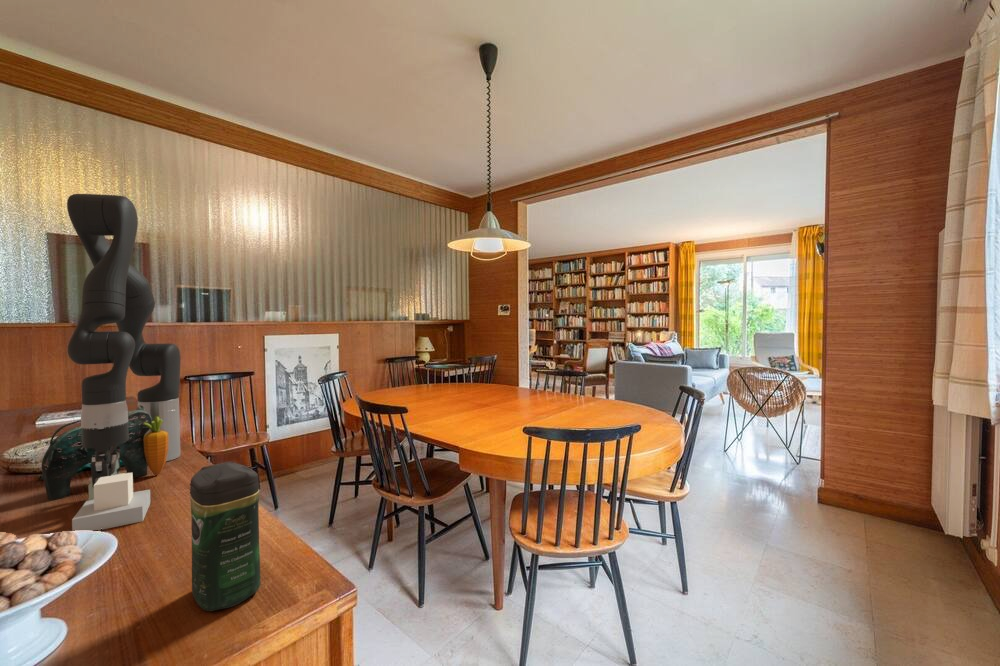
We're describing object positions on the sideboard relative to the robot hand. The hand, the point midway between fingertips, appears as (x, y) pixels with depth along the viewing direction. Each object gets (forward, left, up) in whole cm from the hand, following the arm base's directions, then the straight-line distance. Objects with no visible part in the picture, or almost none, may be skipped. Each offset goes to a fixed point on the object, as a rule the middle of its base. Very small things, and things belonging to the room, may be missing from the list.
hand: (107, 498), depth 92 cm
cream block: (+11, +3, +2) cm, 12 cm away
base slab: (+11, +3, -1) cm, 11 cm away
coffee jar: (+51, +22, -1) cm, 56 cm away
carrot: (-14, +7, -1) cm, 16 cm away
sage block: (0, 0, 0) cm, 0 cm away
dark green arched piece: (-13, -3, -1) cm, 13 cm away
